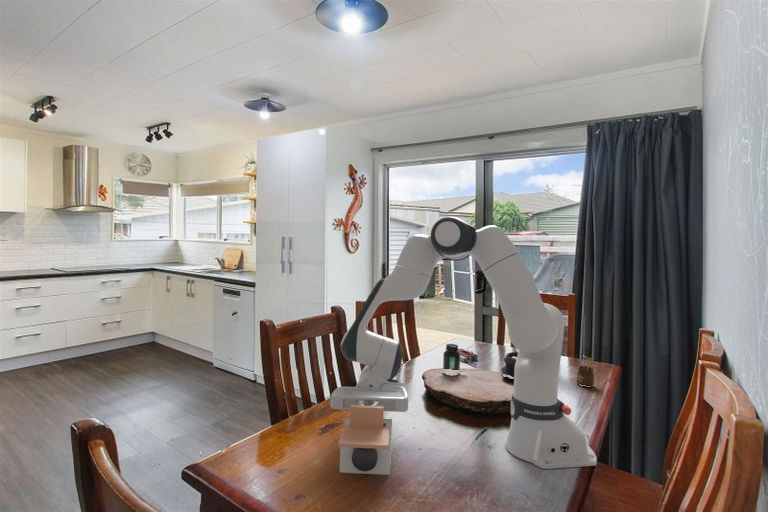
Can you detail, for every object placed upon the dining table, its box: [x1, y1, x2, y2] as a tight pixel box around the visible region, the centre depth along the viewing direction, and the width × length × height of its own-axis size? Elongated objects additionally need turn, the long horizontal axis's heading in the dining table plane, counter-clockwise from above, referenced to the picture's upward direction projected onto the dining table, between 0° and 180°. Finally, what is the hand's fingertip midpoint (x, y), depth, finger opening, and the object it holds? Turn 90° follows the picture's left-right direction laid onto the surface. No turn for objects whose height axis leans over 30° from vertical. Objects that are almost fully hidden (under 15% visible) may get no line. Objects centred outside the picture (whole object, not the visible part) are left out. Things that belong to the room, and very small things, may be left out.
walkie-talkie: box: [458, 348, 479, 366], centre depth 192 cm, size 9×4×20 cm
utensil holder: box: [576, 355, 595, 386], centre depth 161 cm, size 6×6×12 cm
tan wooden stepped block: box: [337, 405, 390, 449], centre depth 97 cm, size 11×9×6 cm
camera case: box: [339, 416, 393, 476], centre depth 103 cm, size 12×12×9 cm
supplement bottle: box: [442, 343, 461, 370], centre depth 172 cm, size 7×7×12 cm
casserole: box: [501, 351, 518, 377], centre depth 171 cm, size 25×19×8 cm
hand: (367, 412), depth 101 cm, fingers closed, pressing on tan wooden stepped block
